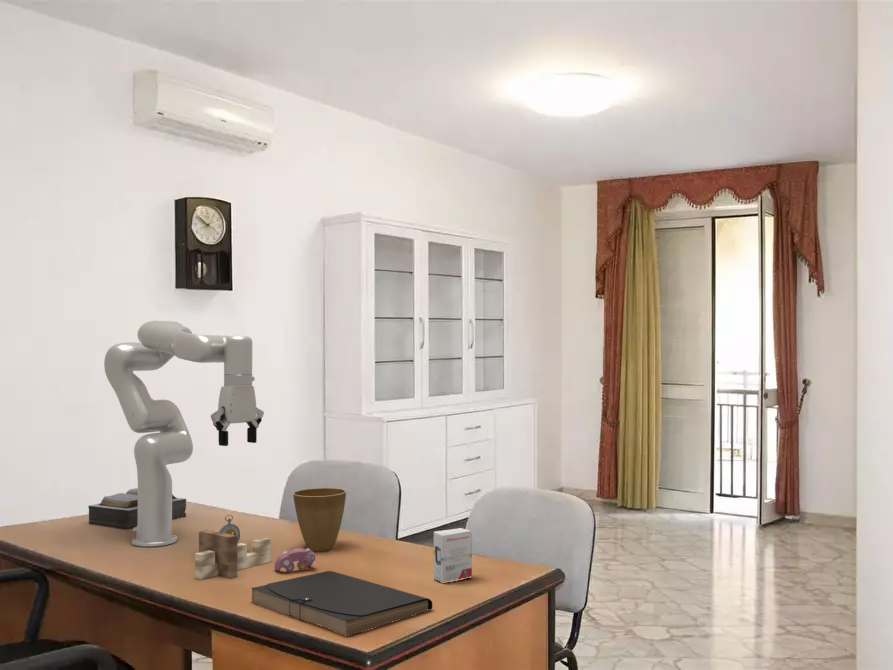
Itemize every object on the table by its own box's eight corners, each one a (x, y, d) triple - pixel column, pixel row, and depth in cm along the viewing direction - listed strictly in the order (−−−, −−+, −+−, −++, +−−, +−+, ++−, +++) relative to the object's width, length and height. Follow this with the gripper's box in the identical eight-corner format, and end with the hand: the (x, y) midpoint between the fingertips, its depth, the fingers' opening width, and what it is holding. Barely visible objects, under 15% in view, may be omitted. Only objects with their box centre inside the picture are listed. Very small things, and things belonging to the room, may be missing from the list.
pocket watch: (241, 556, 230) (241, 519, 230) (213, 555, 231) (213, 518, 232) (254, 549, 238) (254, 513, 238) (226, 548, 239) (226, 512, 240)
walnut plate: (198, 571, 215) (198, 531, 215) (206, 569, 217) (206, 529, 217) (229, 578, 208) (229, 537, 208) (237, 576, 209) (237, 535, 210)
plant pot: (340, 540, 249) (340, 486, 249) (350, 552, 235) (351, 494, 235) (289, 544, 244) (289, 488, 244) (296, 556, 230) (296, 497, 230)
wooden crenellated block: (201, 579, 207) (201, 554, 207) (195, 578, 208) (195, 553, 208) (270, 561, 224) (270, 538, 224) (264, 560, 226) (264, 537, 226)
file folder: (250, 586, 188) (335, 568, 205) (249, 605, 188) (335, 585, 205) (345, 619, 165) (432, 595, 182) (345, 640, 165) (432, 614, 182)
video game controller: (277, 579, 213) (281, 557, 210) (272, 567, 216) (276, 545, 213) (314, 574, 217) (319, 552, 215) (309, 563, 221) (313, 541, 218)
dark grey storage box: (194, 519, 282) (194, 490, 282) (117, 533, 261) (118, 500, 261) (156, 511, 297) (156, 483, 297) (81, 523, 276) (81, 492, 276)
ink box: (461, 574, 211) (461, 527, 212) (473, 579, 207) (473, 530, 207) (432, 579, 207) (432, 531, 207) (443, 584, 202) (443, 534, 203)
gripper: (253, 380, 241) (253, 440, 240) (203, 381, 227) (202, 446, 227) (271, 380, 236) (271, 442, 236) (221, 382, 222) (220, 447, 222)
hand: (237, 444), depth 231 cm, fingers open, 9 cm apart
